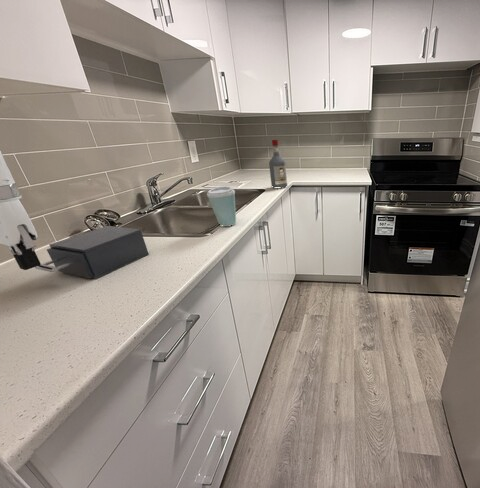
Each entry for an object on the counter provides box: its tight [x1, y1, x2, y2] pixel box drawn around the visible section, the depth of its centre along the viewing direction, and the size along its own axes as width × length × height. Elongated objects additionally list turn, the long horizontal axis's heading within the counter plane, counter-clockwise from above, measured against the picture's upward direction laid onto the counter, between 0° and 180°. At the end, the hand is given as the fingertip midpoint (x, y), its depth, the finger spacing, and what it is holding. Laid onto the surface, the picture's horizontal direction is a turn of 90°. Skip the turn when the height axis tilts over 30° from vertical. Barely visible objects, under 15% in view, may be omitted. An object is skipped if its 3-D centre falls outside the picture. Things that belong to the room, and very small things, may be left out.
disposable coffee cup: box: [206, 185, 237, 227], centre depth 106 cm, size 11×11×15 cm
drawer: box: [34, 247, 94, 279], centre depth 74 cm, size 19×13×7 cm
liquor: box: [268, 139, 288, 188], centre depth 172 cm, size 9×9×30 cm
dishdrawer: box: [48, 225, 150, 280], centre depth 78 cm, size 16×15×9 cm
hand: (31, 266), depth 65 cm, fingers closed
